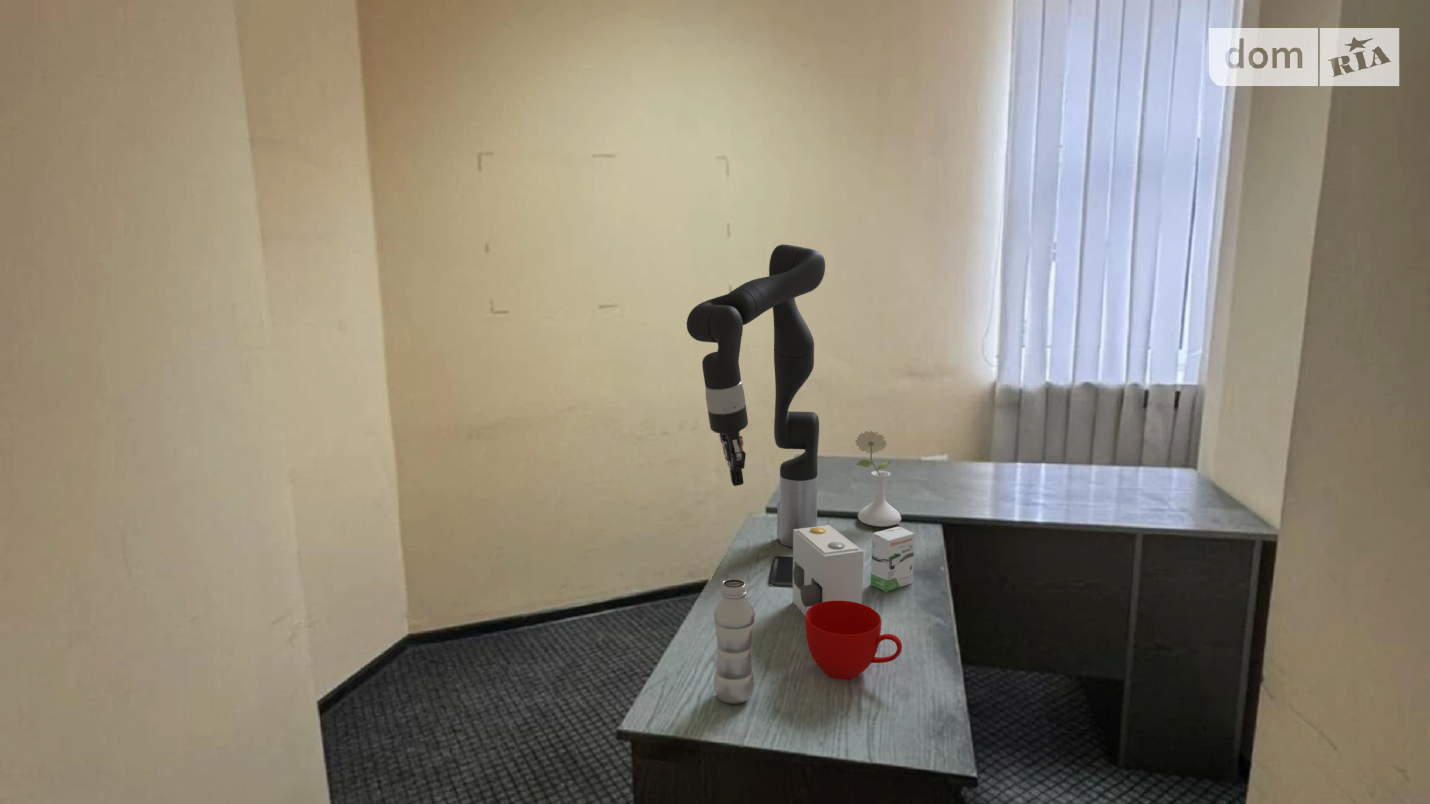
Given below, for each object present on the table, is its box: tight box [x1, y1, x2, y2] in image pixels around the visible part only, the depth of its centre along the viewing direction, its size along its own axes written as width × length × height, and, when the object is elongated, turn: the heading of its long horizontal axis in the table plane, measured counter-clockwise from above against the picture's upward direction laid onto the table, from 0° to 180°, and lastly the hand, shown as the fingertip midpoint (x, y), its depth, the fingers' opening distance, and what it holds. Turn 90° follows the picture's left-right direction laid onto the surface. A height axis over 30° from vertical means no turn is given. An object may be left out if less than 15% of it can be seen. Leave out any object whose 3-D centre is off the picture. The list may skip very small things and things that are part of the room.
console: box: [792, 524, 864, 616], centre depth 153 cm, size 8×15×16 cm, turn 17°
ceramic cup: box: [804, 600, 903, 681], centre depth 133 cm, size 13×17×10 cm
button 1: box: [793, 567, 804, 587], centre depth 157 cm, size 4×4×4 cm
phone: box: [768, 555, 793, 587], centre depth 176 cm, size 8×1×15 cm
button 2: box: [801, 583, 822, 607], centre depth 148 cm, size 4×4×4 cm
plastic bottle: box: [713, 578, 756, 705], centre depth 125 cm, size 6×7×20 cm
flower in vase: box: [855, 430, 902, 528], centre depth 205 cm, size 13×11×25 cm
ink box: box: [870, 526, 916, 593], centre depth 168 cm, size 9×5×12 cm, turn 123°
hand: (737, 483), depth 157 cm, fingers closed
